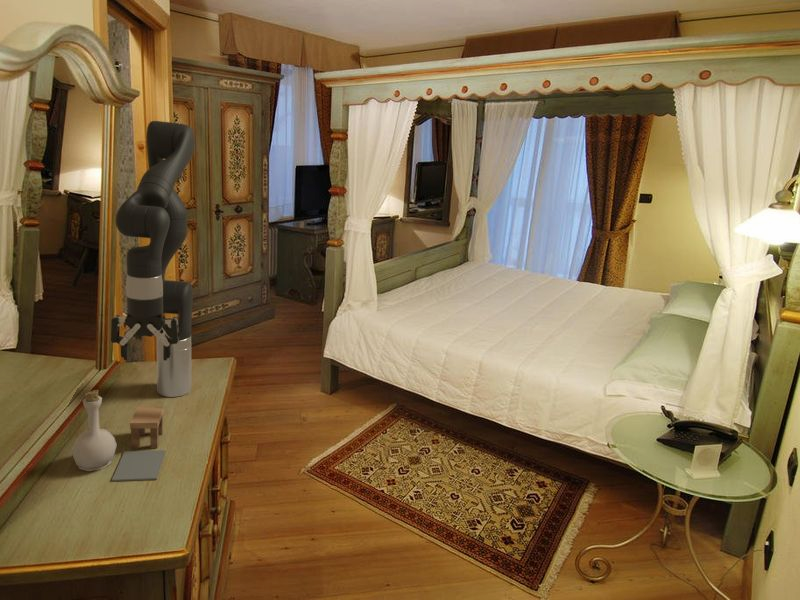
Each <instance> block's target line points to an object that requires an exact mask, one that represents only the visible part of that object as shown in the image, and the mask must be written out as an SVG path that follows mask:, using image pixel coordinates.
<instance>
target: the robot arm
mask: <svg viewBox="0 0 800 600" xmlns="http://www.w3.org/2000/svg"><path fill="white" fill-rule="evenodd" d="M145 139H146V155H147V162H148V163H147V164H148V169H147V170H146V171H145V172H144V174H143V175H142V177H141V179H140V181H139V184H138V186H137V188H136V191H134V192H133V193H132V194H131V195H130V196H129V197H128V198H127V199H125V201H124V202H123V203H122V204H121V205H120V206H119V208H118V210H117V213H116V214H115V215H116V216H115V226H116V228H117V230H118V232H119V233H120V234H121V235H123V236H125V237H132V238H142V239H143V238H146V239H150V242H149V244H147V245H143V246H135V247H131V248H129V249H128V250H127V251H126V282H125V283H126V284H125V286H126V287H125V293H126V294H125V295H126V316H120V315H118V314H116V315H114V316H113V317H112V319H111V322H110V324H111V329H110V330H111V331H110V342H111V343H113V344H115V343H116V344H119V345H120V346H119V347H120V356H121V358H122V359H123V361H128V360H129V358H130V343H129V341H130V339H131V338H132V337H134V335H136V336H137V337H145V336H146V337H150V338H151V337H154V336H155V338H156V340H155V341H156V392H157V393H158V394H159V395H160V396H162V397H167V398H174V397H175V398H177V397H181V396H184V395H185V396H186V395H187V394H189V393H191V390H192V324H193V323H192V318H193V302H194V289H193V286H192V284H191V282H189V281H180V280H168V279H167V280H166V277H165V276H166V271H167V268H168V265H169V264H170V262H171V260H172V259H173V258H174V256H175V255H176V253H177V252H178V250H179V249H180V248H181V247H182V245H183V244H184V242H185V240H186V238H187V235H188V211H187V208H186V207H187V206H185V203H184V202H183V201H182V198H181V197H180V196H179V194H178V193H177V191H176V189H175V184H176V183H177V182H178V180H179V178H180V177H181V176H182V174H183V173H184V171H185V169H186V168H187V166H188V164H189V163H190V161H191V159H193V155H194V153H195V146H196V143H195V142H196V141H195V140H196V139H195V133H194V130H193V128H192V127H191V126H190V125H187V124H184V123H179V122H169V121H162V120H161V121H160V120H152V121H150V122H149V123H148V125H147V128H146V137H145ZM164 314H173V315H174V314H175V315H178V316H173V317H171V318H167V317H165V315H164ZM124 323H125V325H126V326H127V327H128V329H129V330H128V331H127V332H126V333H125V335H124V336H121V335H120V331H121V329H120V327H122V326H123V324H124Z"/></svg>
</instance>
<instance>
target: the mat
mask: <svg viewBox="0 0 800 600" xmlns="http://www.w3.org/2000/svg"><path fill="white" fill-rule="evenodd" d="M166 452H167V451H166V450H161V449H160V450H134V451H133V450H129V451H128V450H126V451H123V454H122V456H121V457H120V461H119V462H118V465H117V468H116V469H115V472H114V474H113V475H112V479H111V482H130V481H131V482H132V481H134V482H135V481H150V480H151V481H156V480H157V479H158V477H159V474H160V470H161V467H162V464H163V461H164V458H165V455H166Z"/></svg>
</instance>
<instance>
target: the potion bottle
mask: <svg viewBox="0 0 800 600" xmlns="http://www.w3.org/2000/svg"><path fill="white" fill-rule="evenodd" d="M84 396H85V397H84V398H83V399H82V403H83V407H84V408H85V409H86V411H87V412H86V413H87V428H88V430H85V431H83V432H82V433H80V434H79V435H78V436H77V438H76V439H75V441H74V442H73V444H72V448H71V454H72V457H73V460H74V461H75V462H74V463H75V464H76V466H78V468H79V470H81V471H85V472H90V473H91V472H95V471H101V470H103V469H105V468H107V467H109V466H110V465H111V464H112V461H113V460H114V457H115V454H116V450H117V445H118V444H117V442H116V438H115V437H114V436H113V435H112V433H111V432H110V431H109V430H107V429H105V428H100V416H99V415H100V413H99V408H100V407H101V405H102V402H103V397H101V396H100V395H99V389H95V390H91V391H90V390H89V391H88V392H86V393H84Z"/></svg>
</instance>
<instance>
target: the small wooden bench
mask: <svg viewBox="0 0 800 600" xmlns="http://www.w3.org/2000/svg"><path fill="white" fill-rule="evenodd" d="M164 408H165V407H164V406H137V408H136V409H135V411H134V414H133V416H132V418H131V420H130V422H129V430H130V435H131V436H130V437H131V438H130V439H131V441H130V443H131V450H135V449H137V450H138V449H139V448H140V446H141V445H140V444H141V442H140V441H141V439H140V436H144V435H145V433H146V430H147V429H149V431H150V432H149V433H150V437H149V438H150V439H149V440H150V441H149V442H150V443H149V444H150V449H158V447H159V435H161V436H162V435H163V433H164V411H165V410H164Z"/></svg>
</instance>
